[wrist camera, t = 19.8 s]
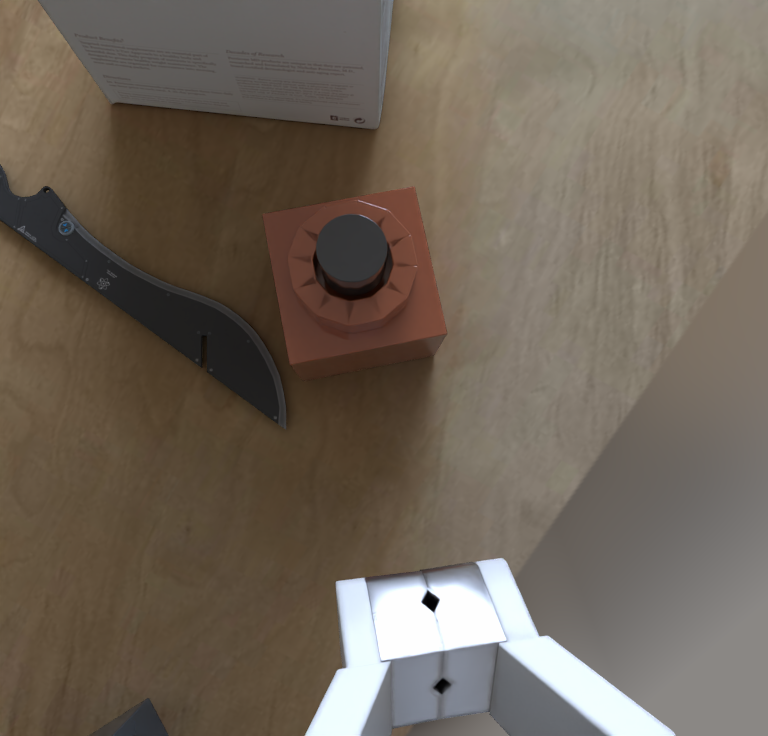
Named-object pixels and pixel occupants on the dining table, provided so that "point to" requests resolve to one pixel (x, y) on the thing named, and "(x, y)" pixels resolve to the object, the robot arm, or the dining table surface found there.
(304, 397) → the dining table surface
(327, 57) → the supplement box
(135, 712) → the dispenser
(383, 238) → the dark grey cylinder
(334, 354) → the button base
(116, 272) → the knife
